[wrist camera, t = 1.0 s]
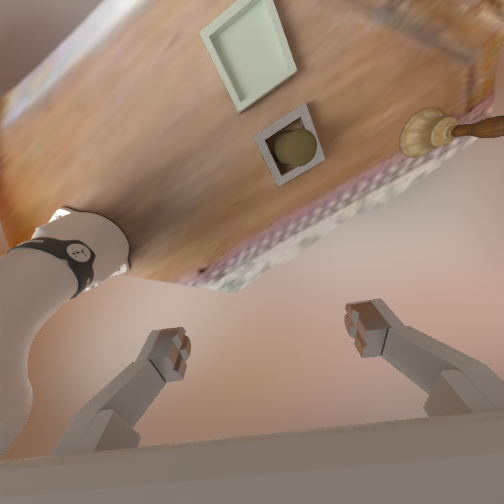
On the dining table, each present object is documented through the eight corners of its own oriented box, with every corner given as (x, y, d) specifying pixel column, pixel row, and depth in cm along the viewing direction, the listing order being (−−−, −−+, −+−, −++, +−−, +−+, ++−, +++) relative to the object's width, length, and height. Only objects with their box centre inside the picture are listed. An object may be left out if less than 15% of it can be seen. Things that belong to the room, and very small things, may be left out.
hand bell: (390, 144, 39) (474, 143, 25) (424, 98, 35) (543, 66, 21) (418, 165, 41) (510, 174, 27) (453, 123, 37) (579, 108, 23)
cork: (283, 123, 36) (297, 114, 27) (309, 141, 38) (331, 138, 28) (267, 155, 39) (274, 157, 29) (291, 170, 40) (307, 177, 31)
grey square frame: (276, 185, 41) (278, 187, 39) (252, 137, 37) (253, 136, 35) (320, 158, 39) (325, 159, 37) (301, 104, 35) (305, 101, 33)
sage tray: (238, 114, 35) (238, 112, 33) (202, 40, 31) (199, 32, 28) (293, 75, 33) (297, 70, 31) (263, -11, 28) (264, -24, 26)
